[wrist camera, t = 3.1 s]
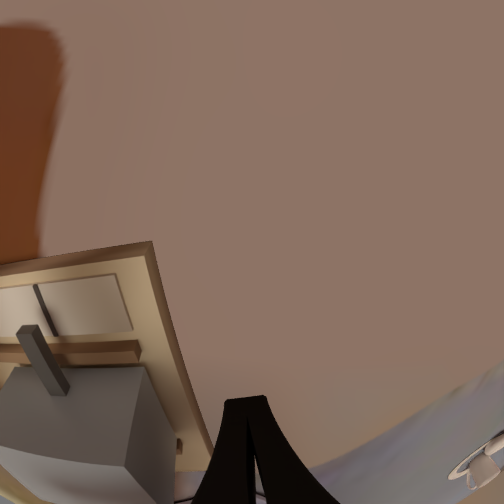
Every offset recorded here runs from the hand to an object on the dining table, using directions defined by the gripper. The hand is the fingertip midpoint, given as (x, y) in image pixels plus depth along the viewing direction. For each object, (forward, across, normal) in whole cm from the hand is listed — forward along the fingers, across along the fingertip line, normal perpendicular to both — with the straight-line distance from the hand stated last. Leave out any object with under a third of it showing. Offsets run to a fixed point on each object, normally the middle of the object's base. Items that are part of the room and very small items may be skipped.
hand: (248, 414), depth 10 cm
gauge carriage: (+1, +8, -1) cm, 8 cm away
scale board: (+2, +11, 0) cm, 11 cm away
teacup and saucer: (+3, -27, +23) cm, 36 cm away
